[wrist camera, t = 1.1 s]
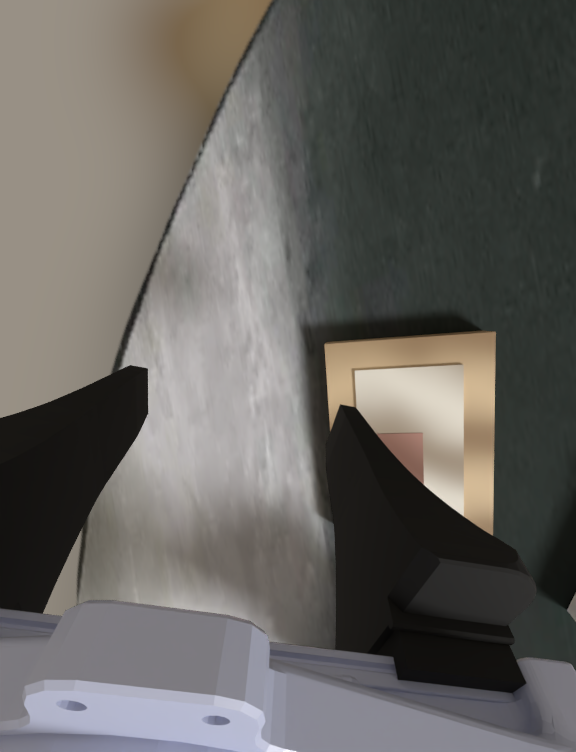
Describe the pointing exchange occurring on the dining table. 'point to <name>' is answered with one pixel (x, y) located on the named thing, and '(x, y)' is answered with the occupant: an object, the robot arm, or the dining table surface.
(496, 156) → the dining table surface
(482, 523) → the frame
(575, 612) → the rail
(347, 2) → the dining table surface
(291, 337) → the dining table surface
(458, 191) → the dining table surface
